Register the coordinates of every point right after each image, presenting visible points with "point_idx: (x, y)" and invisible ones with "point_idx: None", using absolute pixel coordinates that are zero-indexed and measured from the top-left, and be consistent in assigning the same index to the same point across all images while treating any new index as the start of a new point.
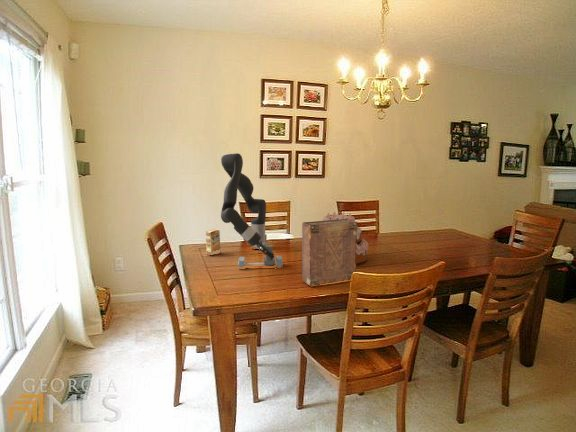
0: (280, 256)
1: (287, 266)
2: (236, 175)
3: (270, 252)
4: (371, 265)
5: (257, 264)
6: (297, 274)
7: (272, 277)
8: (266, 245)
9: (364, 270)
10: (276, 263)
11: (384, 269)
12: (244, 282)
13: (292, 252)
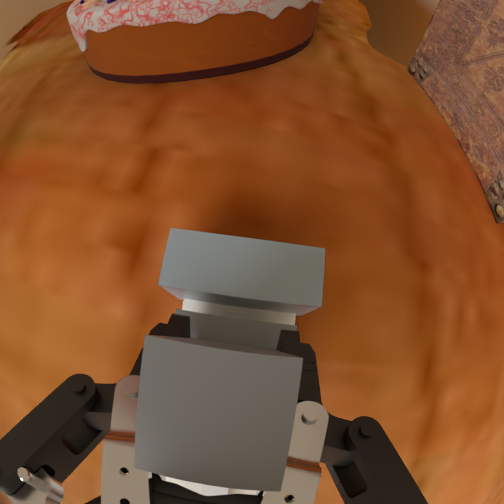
0: (195, 240)
1: (259, 222)
2: None
3: (299, 389)
4: None
5: None
6: (424, 209)
7: (456, 363)
8: (163, 467)
9: (351, 23)
10: (242, 305)
11: (340, 4)
12: (463, 486)
13: (16, 152)
